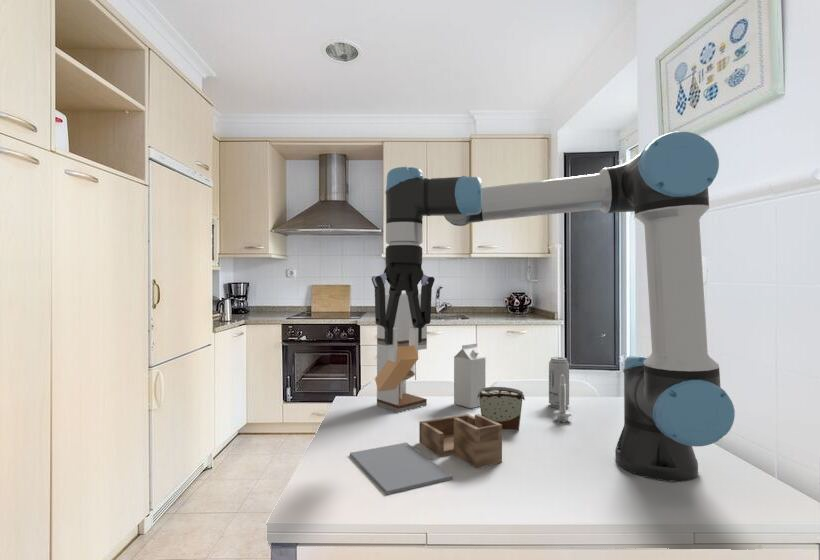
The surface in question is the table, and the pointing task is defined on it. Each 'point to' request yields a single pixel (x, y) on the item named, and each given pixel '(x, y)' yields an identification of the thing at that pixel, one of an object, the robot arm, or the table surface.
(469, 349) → the milk carton
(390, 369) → the tan wooden beam
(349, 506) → the table surface
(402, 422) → the table surface
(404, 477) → the mat
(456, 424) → the pocket block
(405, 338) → the white cabinet tower
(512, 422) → the food container
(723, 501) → the table surface
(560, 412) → the screw
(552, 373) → the energy drink can
